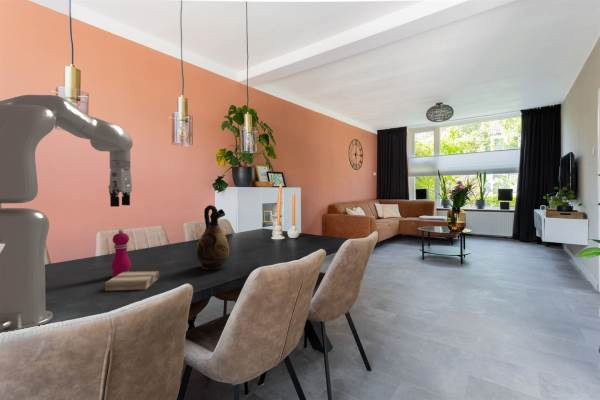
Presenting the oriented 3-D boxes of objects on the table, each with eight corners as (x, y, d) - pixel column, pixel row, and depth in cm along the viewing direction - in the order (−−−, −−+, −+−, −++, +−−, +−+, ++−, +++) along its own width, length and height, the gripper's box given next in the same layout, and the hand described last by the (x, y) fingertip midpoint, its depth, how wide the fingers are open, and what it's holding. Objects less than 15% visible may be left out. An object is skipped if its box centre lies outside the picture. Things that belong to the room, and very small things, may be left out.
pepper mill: (121, 278, 120) (121, 230, 119) (106, 277, 121) (106, 230, 121) (134, 274, 127) (134, 228, 126) (120, 272, 128) (120, 228, 128)
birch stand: (145, 289, 108) (145, 281, 107) (105, 290, 106) (105, 282, 106) (158, 278, 121) (158, 271, 121) (123, 279, 120) (123, 271, 119)
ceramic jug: (236, 266, 142) (236, 205, 141) (211, 273, 129) (211, 206, 128) (212, 261, 151) (212, 204, 150) (186, 268, 138) (186, 205, 137)
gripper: (119, 164, 115) (120, 207, 115) (138, 167, 132) (138, 204, 132) (99, 163, 114) (99, 207, 114) (120, 167, 131) (120, 204, 131)
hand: (120, 205), depth 123 cm, fingers open, 9 cm apart
